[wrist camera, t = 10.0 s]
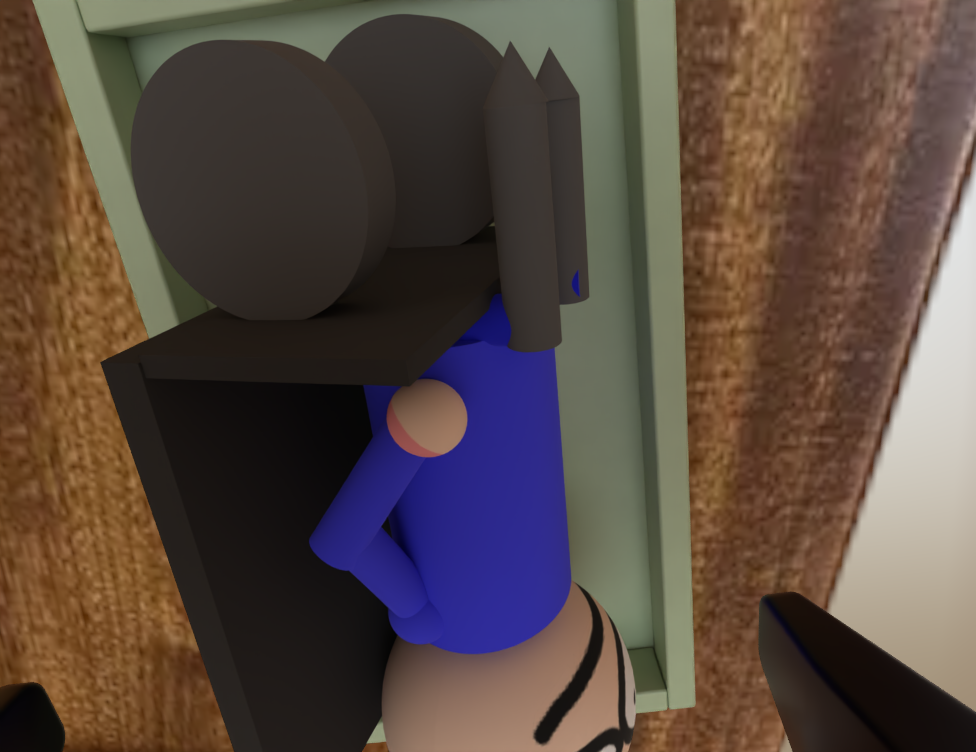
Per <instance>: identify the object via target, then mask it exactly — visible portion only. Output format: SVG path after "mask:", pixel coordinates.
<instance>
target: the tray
mask: <svg viewBox="0 0 976 752" xmlns="http://www.w3.org/2000/svg"><path fill="white" fill-rule="evenodd" d="M33 3H34V6H35V9H36V12H37V15H38V18H39V20H40V23H41V26H42V29H43V32H44V35H45V38H46V41H47V44H48V47H49V49H50V52H51V55H52V58H53V61H54V64H55V67H56V70H57V73H58V76H59V79H60V81H61V84H62V87H63V90H64V93H65V96H66V99H67V102H68V105H69V108H70V110H71V113H72V116H73V119H74V122H75V125H76V128H77V131H78V134H79V137H80V140H81V142H82V145H83V148H84V151H85V154H86V157H87V160H88V163H89V166H90V169H91V171H92V174H93V177H94V180H95V183H96V186H97V189H98V192H99V195H100V198H101V201H102V203H103V206H104V209H105V212H106V215H107V218H108V221H109V224H110V227H111V230H112V232H113V235H114V238H115V241H116V244H117V247H118V250H119V253H120V256H121V259H122V262H123V264H124V267H125V270H126V273H127V276H128V279H129V282H130V285H131V288H132V291H133V293H134V296H135V299H136V302H137V305H138V308H139V311H140V314H141V317H142V320H143V323H144V325H145V328H146V331H147V334H148V337H149V339H150V338H152V337H154V336H156V335H158V334H160V333H162V332H165V331H167V330H169V329H171V328H173V327H175V326H177V325H179V324H181V323H183V322H186V321H188V320H190V319H192V318H194V317H196V316H198V315H200V314H202V313H204V312H207V311H209V310H211V309H213V308H215V307H217V306H216V305H214V304H213V303H211V302H210V301H208V300H207V299H205V298H204V297H203V296H202V295H200V294H199V293H198V292H197V291H196V290H194V289H193V288H192V287H191V286H190V285H189V284H188V283H187V282H186V281H185V280H184V279H183V278H182V277H181V276H180V275H179V274H178V272H177V271H176V270H175V269H174V268H173V266H172V265H171V264H170V263H169V261H168V260H167V258H166V257H165V256H164V254H163V253H162V251H161V249H160V248H159V246H158V245H157V243H156V241H155V239H154V237H153V236H152V234H151V231H150V229H149V227H148V225H147V223H146V221H145V218H144V216H143V213H142V210H141V207H140V204H139V201H138V198H137V194H136V190H135V186H134V180H133V174H132V166H131V133H132V126H133V120H134V116H135V112H136V108H137V105H138V102H139V100H140V97H141V95H142V93H143V91H144V89H145V87H146V85H147V83H148V82H149V80H150V78H151V77H152V76H153V74H154V73H155V72H156V70H157V69H158V68H159V67H160V66H161V65H162V64H163V63H164V62H165V61H166V60H167V59H169V58H170V57H171V56H173V55H174V54H175V53H177V52H179V51H180V50H182V49H184V48H186V47H189V46H191V45H194V44H197V43H200V42H205V41H210V40H265V41H276V42H281V43H286V44H289V45H292V46H295V47H298V48H301V49H303V50H305V51H307V52H309V53H311V54H313V55H315V56H317V57H318V58H320V59H321V60H323V61H324V62H325V60H326V59H327V57H328V56H329V54H330V53H331V51H332V50H333V49H334V47H335V46H336V45H337V44H338V43H339V42H340V41H341V40H342V39H343V38H344V37H345V36H346V35H347V34H349V33H350V32H351V31H353V30H354V29H356V28H357V27H359V26H360V25H362V24H364V23H366V22H368V21H371V20H373V19H376V18H379V17H383V16H388V15H395V14H413V15H423V16H433V17H440V18H445V19H449V20H452V21H455V22H458V23H460V24H463V25H465V26H467V27H468V28H470V29H472V30H474V31H475V32H477V33H478V34H480V35H481V36H482V37H484V38H485V39H486V40H487V41H489V42H490V43H491V44H492V45H493V46H494V47H495V48H496V49H497V50H498V51H499V53H500V54H501V55H502V56H503V57H504V54H505V52H506V49H507V47H508V44H509V42H510V41H511V42H512V44H513V46H514V47H515V49H516V50H517V52H518V53H519V55H520V57H521V58H522V60H523V61H524V63H525V64H526V66H527V68H528V69H529V71H530V72H531V74H532V75H533V77H534V79H536V76H537V74H538V72H539V69H540V67H541V65H542V62H543V60H544V58H545V55H546V53H547V51H548V48H549V47H550V49H551V50H552V52H553V53H554V55H555V57H556V58H557V60H558V61H559V63H560V65H561V66H562V68H563V70H564V71H565V73H566V74H567V76H568V78H569V79H570V81H571V82H572V84H573V86H574V87H575V89H576V91H577V92H578V94H579V95H580V97H579V98H580V117H581V137H582V157H583V177H584V197H585V216H586V236H587V256H588V276H589V298H588V299H587V300H585V301H582V302H579V303H575V304H567V305H560V317H561V332H562V342H561V344H560V345H558V346H557V347H555V359H556V373H557V387H558V400H559V414H560V428H561V442H562V455H563V469H564V483H565V497H566V510H567V524H568V538H569V552H570V565H571V580H573V581H574V582H575V583H577V584H578V585H580V586H581V587H582V588H584V589H585V590H586V591H587V592H588V593H590V594H591V595H592V596H593V597H594V598H595V599H596V600H597V601H598V602H599V604H600V605H601V606H602V607H603V608H604V609H605V611H606V612H607V613H608V615H609V616H610V618H611V619H612V621H613V622H614V624H615V626H616V627H617V629H618V631H619V633H620V635H621V637H622V639H623V641H624V644H625V646H626V649H627V651H628V655H629V658H630V662H631V665H632V669H633V675H634V682H635V689H636V713H644V712H653V711H662V710H666V709H667V707H669V709H679V708H688V707H694V706H695V669H694V634H693V599H692V564H691V529H690V494H689V459H688V424H687V390H686V355H685V320H684V285H683V250H682V215H681V180H680V145H679V110H678V75H677V40H676V5H675V0H33ZM489 226H495V223H494V222H493V223H492V224H491V225H489ZM377 742H386V738H385V734H384V729H383V721H382V717H381V719H380V720H379V722H378V724H377V726H376V728H375V729H374V731H373V733H372V735H371V736H370V738H369V740H368V742H367V744H368V743H377Z"/></svg>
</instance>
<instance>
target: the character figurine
mask: <svg viewBox="0 0 976 752" xmlns="http://www.w3.org/2000/svg"><path fill="white" fill-rule="evenodd" d="M579 97H580V95H579V94H578V92H577V91H576V89H575V87H574V86H573V84H572V82H571V81H570V79H569V78H568V76H567V74H566V73H565V71H564V70H563V68H562V66H561V65H560V63H559V61H558V60H557V58H556V57H555V55H554V53H553V52H552V50H551V49H550V47H549V48H548V51H547V53H546V55H545V58H544V60H543V62H542V65H541V67H540V69H539V72H538V74H537V76H536V79H534V77H533V75H532V74H531V72H530V71H529V69H528V68H527V66H526V64H525V63H524V61H523V60H522V58H521V57H520V55H519V53H518V52H517V50H516V49H515V47H514V46H513V44H512V42H511V41H510V42H509V44H508V47H507V49H506V52H505V54H504V57H503V56H502V55H501V54H500V53H499V51H498V50H497V49H496V48H495V47H494V46H493V45H492V44H491V43H490V42H489V41H487V40H486V39H485V38H484V37H482V36H481V35H480V34H478V33H477V32H475V31H474V30H472V29H470V28H468V27H467V26H465V25H463V24H460V23H458V22H455V21H452V20H449V19H445V18H440V17H433V16H423V15H413V14H395V15H388V16H383V17H379V18H376V19H373V20H371V21H368V22H366V23H364V24H362V25H360V26H359V27H357V28H356V29H354V30H353V31H351V32H350V33H349V34H347V35H346V36H345V37H344V38H343V39H342V40H341V41H340V42H339V43H338V44H337V45H336V46H335V47H334V49H333V50H332V51H331V53H330V54H329V56H328V57H327V59H326V60H325V62H324V61H323V60H321V59H320V58H318V57H317V56H315V55H313V54H311V53H309V52H307V51H305V50H303V49H301V48H298V47H295V46H292V45H289V44H286V43H281V42H276V41H265V40H210V41H205V42H200V43H197V44H194V45H191V46H189V47H186V48H184V49H182V50H180V51H179V52H177V53H175V54H174V55H173V56H171V57H170V58H169V59H167V60H166V61H165V62H164V63H163V64H162V65H161V66H160V67H159V68H158V69H157V70H156V72H155V73H154V74H153V76H152V77H151V78H150V80H149V82H148V83H147V85H146V87H145V89H144V91H143V93H142V95H141V97H140V100H139V102H138V105H137V108H136V112H135V116H134V120H133V126H132V133H131V166H132V174H133V180H134V186H135V190H136V194H137V198H138V201H139V204H140V207H141V210H142V213H143V216H144V218H145V221H146V223H147V225H148V227H149V229H150V231H151V234H152V236H153V237H154V239H155V241H156V243H157V245H158V246H159V248H160V249H161V251H162V253H163V254H164V256H165V257H166V258H167V260H168V261H169V263H170V264H171V265H172V266H173V268H174V269H175V270H176V271H177V272H178V274H179V275H180V276H181V277H182V278H183V279H184V280H185V281H186V282H187V283H188V284H189V285H190V286H191V287H192V288H193V289H194V290H196V291H197V292H198V293H199V294H200V295H202V296H203V297H204V298H205V299H207V300H208V301H210V302H211V303H213V304H214V305H216V306H217V307H215V308H213V309H211V310H209V311H207V312H204V313H202V314H200V315H198V316H196V317H194V318H192V319H190V320H188V321H186V322H183V323H181V324H179V325H177V326H175V327H173V328H171V329H169V330H167V331H165V332H162V333H160V334H158V335H156V336H154V337H152V338H150V339H148V340H146V341H144V342H142V343H139V344H137V345H135V346H133V347H131V348H129V349H127V350H125V351H123V352H121V353H118V354H116V355H114V356H112V357H110V358H108V359H106V360H104V361H102V362H100V363H101V366H102V369H103V371H104V374H105V377H106V380H107V383H108V386H109V389H110V392H111V395H112V398H113V400H114V403H115V406H116V409H117V412H118V415H119V418H120V421H121V424H122V427H123V430H124V432H125V435H126V438H127V441H128V444H129V447H130V450H131V453H132V456H133V459H134V461H135V464H136V467H137V470H138V473H139V476H140V479H141V482H142V485H143V488H144V491H145V493H146V496H147V499H148V502H149V505H150V508H151V511H152V514H153V517H154V520H155V522H156V525H157V528H158V531H159V534H160V537H161V540H162V543H163V546H164V549H165V552H166V554H167V557H168V560H169V563H170V566H171V569H172V572H173V575H174V578H175V581H176V583H177V586H178V589H179V592H180V595H181V598H182V601H183V604H184V607H185V610H186V613H187V615H188V618H189V621H190V624H191V627H192V630H193V633H194V636H195V639H196V642H197V645H198V647H199V650H200V653H201V656H202V659H203V662H204V665H205V668H206V671H207V674H208V676H209V679H210V682H211V685H212V688H213V691H214V694H215V697H216V700H217V703H218V706H219V708H220V711H221V714H222V717H223V720H224V723H225V726H226V729H227V732H228V735H229V737H230V740H231V743H232V746H233V749H234V752H362V751H363V749H364V747H365V745H366V744H367V742H368V740H369V738H370V736H371V735H372V733H373V731H374V729H375V728H376V726H377V724H378V722H379V720H380V719H381V717H382V721H383V729H384V734H385V738H386V743H387V746H388V749H389V752H628V750H629V747H630V743H631V740H632V735H633V730H634V723H635V716H636V689H635V682H634V675H633V669H632V665H631V662H630V658H629V655H628V651H627V649H626V646H625V644H624V641H623V639H622V637H621V635H620V633H619V631H618V629H617V627H616V626H615V624H614V622H613V621H612V619H611V618H610V616H609V615H608V613H607V612H606V611H605V609H604V608H603V607H602V606H601V605H600V604H599V602H598V601H597V600H596V599H595V598H594V597H593V596H592V595H591V594H590V593H588V592H587V591H586V590H585V589H584V588H582V587H581V586H580V585H578V584H577V583H575V582H574V581H573V580H571V565H570V552H569V538H568V524H567V510H566V497H565V483H564V469H563V455H562V442H561V428H560V414H559V400H558V387H557V373H556V359H555V347H557V346H558V345H560V344H561V342H562V332H561V317H560V305H567V304H575V303H579V302H582V301H585V300H587V299H588V298H589V276H588V256H587V236H586V216H585V197H584V177H583V157H582V137H581V117H580V98H579ZM493 222H494V223H495V226H489V225H491V224H492V223H493Z"/></svg>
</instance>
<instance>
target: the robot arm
mask: <svg viewBox="0 0 976 752" xmlns="http://www.w3.org/2000/svg"><path fill="white" fill-rule="evenodd" d="M759 655H760V660H761V664H762V667H763V670H764V673H765V676H766V679H767V681H768V684H769V687H770V690H771V693H772V695H773V698H774V701H775V704H776V706H777V709H778V712H779V715H780V718H781V720H782V723H783V726H784V729H785V732H786V734H787V737H788V740H789V743H790V745H791V748H792V751H793V752H976V712H975V711H973V710H972V709H971V708H969V707H968V706H966V705H965V704H963V703H961V702H960V701H958V700H957V699H956V698H954V697H953V696H951V695H950V694H948V693H947V692H945V691H944V690H942V689H941V688H939V687H938V686H936V685H935V684H933V683H932V682H930V681H929V680H927V679H926V678H924V677H923V676H921V675H920V674H918V673H916V672H915V671H914V670H912V669H911V668H909V667H908V666H906V665H905V664H903V663H902V662H901V661H899V660H898V659H896V658H895V657H893V656H892V655H890V654H888V653H887V652H886V651H884V650H882V649H881V648H880V647H878V646H877V645H875V644H873V643H872V642H871V641H869V640H867V639H866V638H864V637H863V636H862V635H860V634H859V633H857V632H856V631H854V630H853V629H851V628H850V627H848V626H847V625H845V624H844V623H842V622H841V621H839V620H838V619H836V618H835V617H833V616H832V615H830V614H829V613H827V612H826V611H825V610H823V609H822V608H820V607H819V606H817V605H816V604H814V603H813V602H811V601H810V600H808V599H807V598H805V597H804V596H802V595H800V594H798V593H796V592H784V593H775V594H767V595H765V596H763V597H762V598H761V601H760V604H759ZM64 743H65V730H64V726H63V724H62V722H61V720H60V718H59V716H58V714H57V712H56V710H55V708H54V706H53V704H52V702H51V700H50V699H49V697H48V695H47V693H46V691H45V689H44V688H43V686H41V685H40V684H38V683H34V682H28V683H20V684H11V685H6V686H3V687H1V688H0V752H63V748H64Z"/></svg>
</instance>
